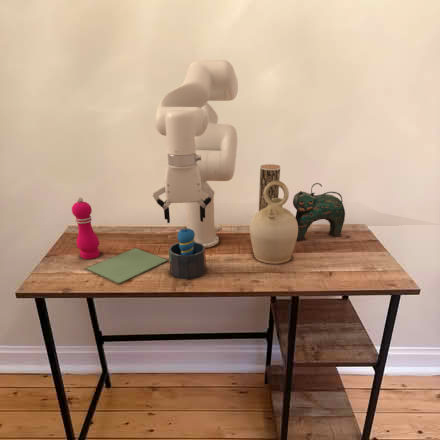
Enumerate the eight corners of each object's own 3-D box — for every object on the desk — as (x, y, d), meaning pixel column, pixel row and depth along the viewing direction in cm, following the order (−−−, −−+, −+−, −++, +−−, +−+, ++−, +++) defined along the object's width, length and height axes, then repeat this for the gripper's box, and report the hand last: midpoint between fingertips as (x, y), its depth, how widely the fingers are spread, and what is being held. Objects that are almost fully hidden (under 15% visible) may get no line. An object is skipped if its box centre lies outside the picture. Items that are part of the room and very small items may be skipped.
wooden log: (277, 232, 153) (282, 165, 140) (273, 239, 147) (278, 169, 135) (260, 230, 155) (263, 163, 142) (255, 237, 149) (258, 168, 137)
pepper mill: (95, 260, 133) (84, 201, 123) (75, 259, 134) (62, 200, 124) (104, 251, 139) (95, 194, 129) (85, 250, 140) (74, 193, 130)
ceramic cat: (293, 242, 144) (298, 186, 134) (286, 235, 150) (291, 181, 140) (344, 237, 148) (352, 182, 138) (335, 230, 154) (343, 177, 144)
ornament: (199, 270, 126) (198, 224, 118) (187, 275, 123) (185, 229, 115) (188, 265, 129) (186, 220, 122) (176, 270, 126) (173, 225, 118)
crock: (187, 260, 132) (186, 238, 129) (212, 269, 127) (212, 247, 123) (163, 271, 125) (161, 249, 122) (189, 282, 119) (187, 259, 116)
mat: (135, 248, 141) (135, 247, 141) (167, 261, 132) (167, 259, 132) (86, 269, 127) (86, 268, 127) (119, 284, 119) (119, 282, 118)
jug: (263, 243, 144) (266, 172, 131) (303, 253, 136) (311, 179, 123) (240, 258, 133) (241, 182, 120) (282, 270, 125) (288, 190, 113)
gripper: (212, 156, 113) (213, 215, 122) (150, 158, 112) (155, 218, 120) (215, 162, 107) (215, 224, 115) (149, 164, 105) (154, 226, 113)
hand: (185, 220), depth 117 cm, fingers open, 9 cm apart
